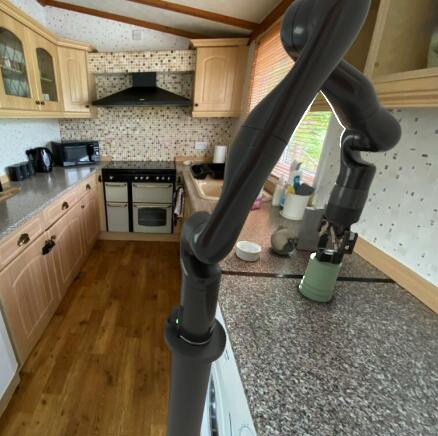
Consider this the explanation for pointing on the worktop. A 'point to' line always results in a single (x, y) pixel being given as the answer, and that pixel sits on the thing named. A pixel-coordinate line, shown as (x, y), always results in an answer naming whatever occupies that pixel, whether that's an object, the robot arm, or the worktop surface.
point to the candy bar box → (258, 200)
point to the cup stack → (319, 279)
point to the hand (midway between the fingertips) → (327, 255)
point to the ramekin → (248, 250)
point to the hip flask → (311, 229)
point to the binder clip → (324, 254)
